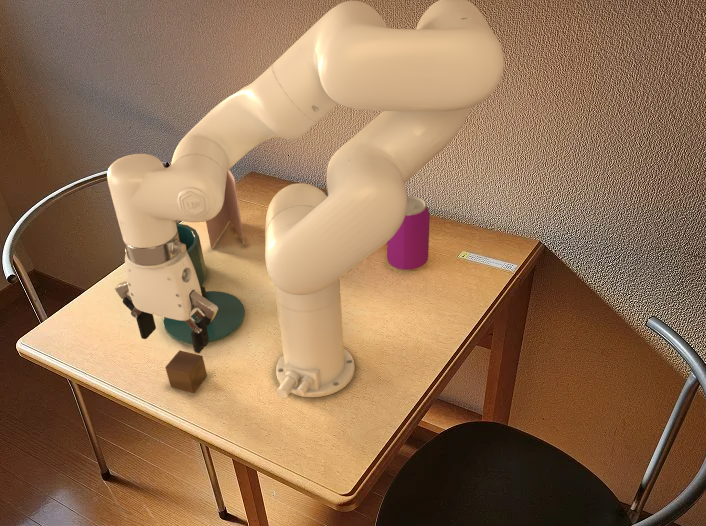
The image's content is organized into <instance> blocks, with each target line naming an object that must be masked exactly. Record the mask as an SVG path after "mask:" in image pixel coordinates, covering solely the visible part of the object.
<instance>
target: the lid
mask: <svg viewBox="0 0 706 526" xmlns="http://www.w3.org/2000/svg"><path fill="white" fill-rule="evenodd" d="M200 289H201V293H202V296H203V297H204V298H206V299H207V300H209V301H210V302H212V303H213V304H215V305H216V306H217V307H218V311H217V313H216V315H215V318H214V319H213V320H212V322H211V323H210V324H209V325H208V326H207V331H208V336H209V343H208V344H210V343H213V342H217V341H220V340H222V339H225V338H226V337H228V336H230V335H231V334H233V333H234V332H236V331H237V330H238V329H239V328H240V326H242V324H243V322H244V321H245V318H246V317H245V316H246V310H245V305H244V304H243V302H242V301H241V299H240V298H238V297H237V296H236V295H234V294H231V293H228V292H225V291H219V290H206V287H205V286H203V285H202V286H200ZM199 309H200V308H199ZM200 310H201V309H200ZM201 311H202V312H203V313H204V314H205V312H204V311H203V310H201ZM191 317H192V318H193V319H194V320H195V321H196V322H198V321H199V319H198V318H197V317H196V316H195V315H194V314H193V315H192V316H191ZM162 324H163V328H164V331H165V333H166V334H167V335H168V336H169V337H170V338H171V339H173V340H174V341H177V342H180V343H183V344H190V345H193V342H192V337H191V332H192V331H193V329H192V328H191V327H190V326H189V325H188V324H187V323H186V322H185V321H180V320H175V319H170V318H166V317H163V318H162Z"/></svg>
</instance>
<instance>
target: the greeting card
mask: <svg viewBox="0 0 706 526" xmlns="http://www.w3.org/2000/svg"><path fill="white" fill-rule="evenodd" d="M229 223H231V225H232V227H233V229H234V230H235V232H236V234H237V235H238V237H239V238H240V240H241V243H242V244H243V245H244V246H246V242H245V235H244V229H243V223H242V218H241V211H240V206H239V199H238V193H237V187H236V180H235V176H234V174H232V172H231V170H230V169H229V170H228V172H227V179H226V187H225V197H224V203H223V206H222V208H221V210H220V212H219V213H218V214H217V215H216V216H215V217H214V218H212V219H210V220H208V221H205V224H206V229H207V234H208V239H209V244H210V249H211V251H212V250H213V249H214V247H215V245H216V243H217V242H218V241H219V239H220V237H221V235H222V234H223V232H224V230H225V229H226V227H227V226H228V224H229Z"/></svg>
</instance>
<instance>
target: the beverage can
mask: <svg viewBox="0 0 706 526" xmlns="http://www.w3.org/2000/svg"><path fill="white" fill-rule="evenodd" d="M430 217H431V213H430V211H429V208H428V206H427V203H426V201H425V199H423V198H421V197H419V196H416V195H415V196H414V195H407V212H406V215H405V218H404V221H403V223H402V225H401V226H400V228H399V229H398V231H397V232H396V233H395V235H394V236H393V237H392V238H391V239H390V240H389V241H388V242H387V243H386V259H387V262H388V264H389V265H390V266H392V268H394V269H396V270H399V271H403V272H411V271H415V270H418V269H420V268H421V267H423V266H424V265H426V264H427V262H428V260H429V249H430V248H429V246H430V245H429V244H430V222H431V220H430Z"/></svg>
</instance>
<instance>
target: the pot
mask: <svg viewBox="0 0 706 526" xmlns="http://www.w3.org/2000/svg"><path fill="white" fill-rule="evenodd" d="M176 226H177V230H178V235H179V240H180V242H181V243H183V244H186V251H187V253H188V255H189V257H190V259H191V261H192V264H193V266H194V269H195V272H196V275H197V278H198V282H199V285H200V286H203V285H204V284H205V283H206V280H207V268H206V263H205V257H204V254H203V248H202V244H201V238H200V235H199V233H198V232H197V230H196V229H195V228H194V227H191V226H190V225H187V224H184V223H177V222H176ZM124 251H125V252H126V249H125V248H124Z"/></svg>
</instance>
